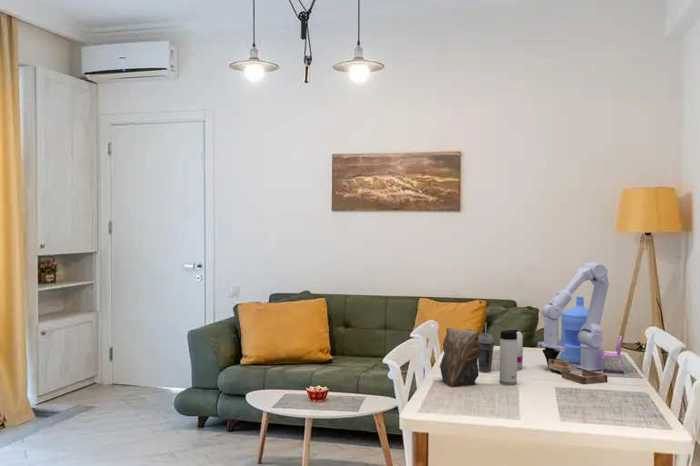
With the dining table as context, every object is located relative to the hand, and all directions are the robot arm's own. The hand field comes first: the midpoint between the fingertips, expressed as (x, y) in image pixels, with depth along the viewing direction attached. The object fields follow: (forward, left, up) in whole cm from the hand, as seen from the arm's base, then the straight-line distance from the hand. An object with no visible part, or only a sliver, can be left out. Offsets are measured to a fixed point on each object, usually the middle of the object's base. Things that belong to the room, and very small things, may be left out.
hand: (550, 367), depth 281 cm
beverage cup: (+27, -7, -1) cm, 28 cm away
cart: (0, +6, -1) cm, 6 cm away
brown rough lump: (+50, +7, -1) cm, 50 cm away
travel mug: (+31, +14, -1) cm, 34 cm away
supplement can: (+13, -8, -1) cm, 15 cm away
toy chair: (-21, +13, -2) cm, 25 cm away
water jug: (-25, -11, -1) cm, 27 cm away
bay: (0, +19, -1) cm, 19 cm away
